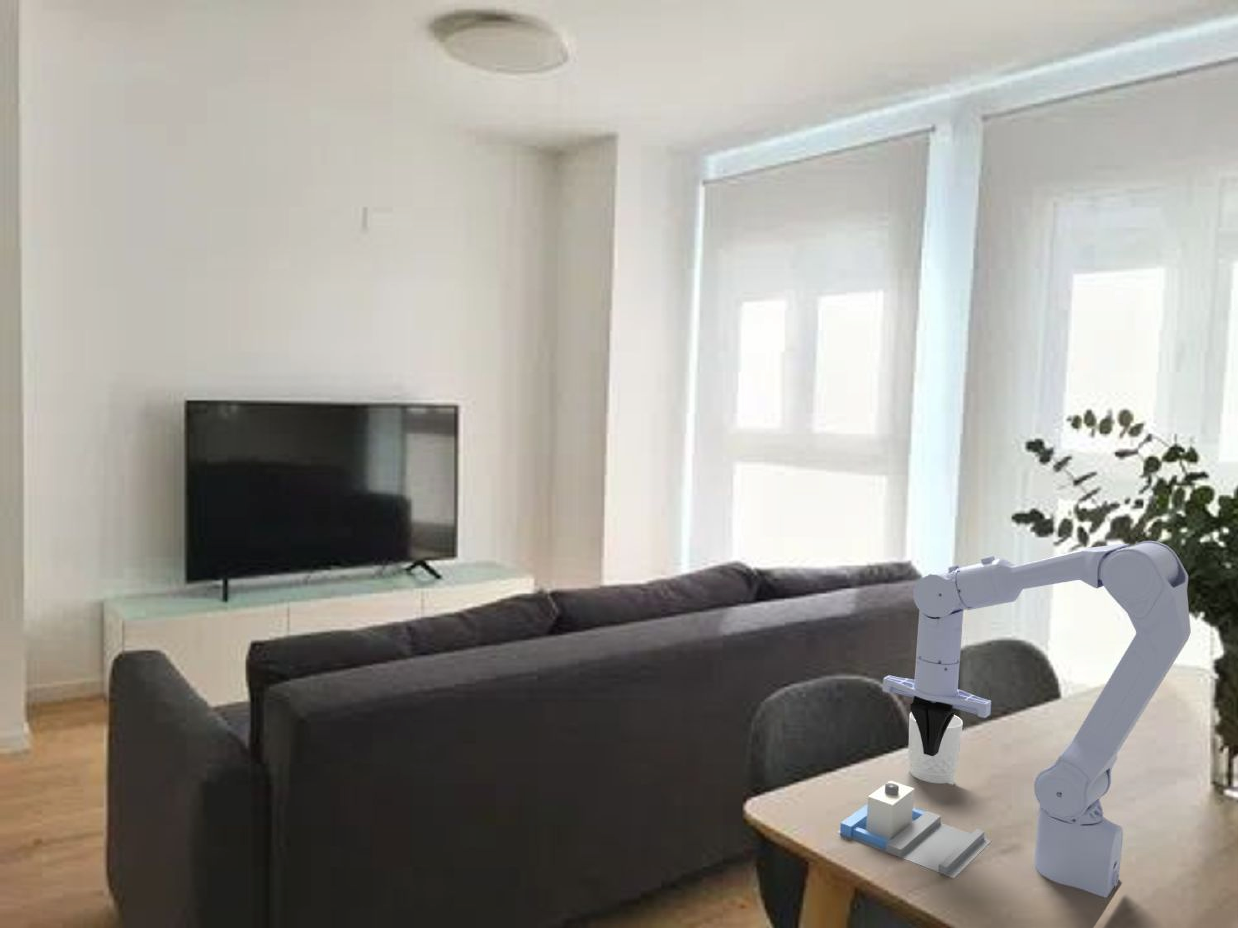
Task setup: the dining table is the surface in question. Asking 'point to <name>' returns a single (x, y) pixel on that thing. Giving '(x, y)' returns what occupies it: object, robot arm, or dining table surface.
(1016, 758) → the dining table surface
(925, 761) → the white cup
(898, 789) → the white knob-topped box
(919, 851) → the board
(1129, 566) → the robot arm
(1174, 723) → the dining table surface
